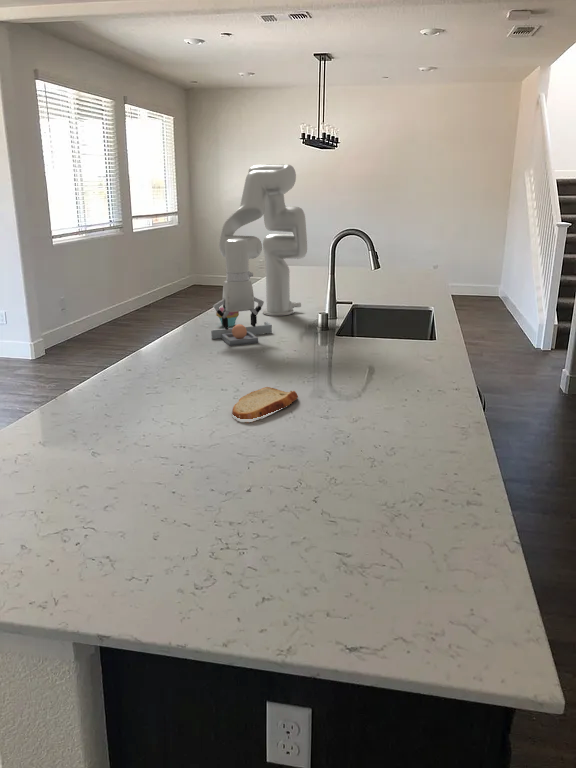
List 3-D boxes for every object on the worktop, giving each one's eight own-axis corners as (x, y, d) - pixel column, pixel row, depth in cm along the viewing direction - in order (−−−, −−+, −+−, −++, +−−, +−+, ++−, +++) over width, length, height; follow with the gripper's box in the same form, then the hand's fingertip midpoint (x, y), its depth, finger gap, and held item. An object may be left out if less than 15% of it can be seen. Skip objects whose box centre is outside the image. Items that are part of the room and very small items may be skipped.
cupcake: (238, 327, 238) (237, 295, 234) (215, 327, 238) (213, 295, 234) (240, 322, 246) (239, 291, 242) (218, 322, 246) (216, 291, 242)
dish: (249, 336, 225) (249, 331, 224) (258, 343, 216) (258, 337, 215) (221, 339, 221) (221, 334, 221) (229, 345, 212) (229, 340, 212)
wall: (266, 329, 234) (266, 321, 233) (271, 333, 229) (271, 324, 228) (207, 335, 227) (207, 326, 226) (212, 338, 222) (211, 330, 221)
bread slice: (235, 426, 146) (235, 410, 145) (224, 400, 163) (223, 386, 162) (311, 418, 150) (311, 403, 149) (292, 394, 167) (292, 380, 166)
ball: (244, 336, 221) (243, 322, 220) (248, 339, 217) (248, 325, 215) (230, 337, 220) (229, 323, 218) (234, 341, 215) (234, 326, 214)
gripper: (258, 273, 218) (260, 322, 224) (209, 277, 212) (212, 327, 218) (266, 276, 212) (267, 327, 217) (215, 280, 206) (217, 332, 211)
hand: (239, 327), depth 218 cm, fingers open, 9 cm apart
